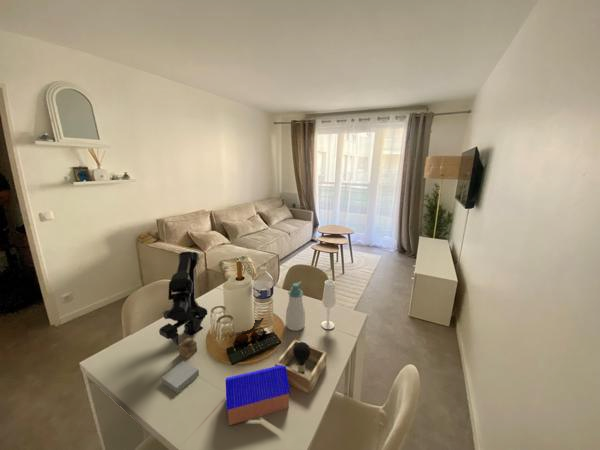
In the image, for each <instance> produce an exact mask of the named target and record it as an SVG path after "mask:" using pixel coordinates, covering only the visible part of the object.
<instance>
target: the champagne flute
mask: <svg viewBox="0 0 600 450" xmlns="http://www.w3.org/2000/svg"><path fill="white" fill-rule="evenodd" d="M335 283H336V282H335V281H334V280H332V279H327V280H325V281H324V286H323V292H322V300H321V303H322V305H323V307H324V308H326V311H327V312H326V320H324V321H322V322H321V327H322V329H326V330H331V329H334V328H335V323H334V322H332V321H331V320H330V309H332V308H334V307H335V305H336V286H335Z"/></svg>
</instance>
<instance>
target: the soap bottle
mask: <svg viewBox="0 0 600 450" xmlns="http://www.w3.org/2000/svg"><path fill="white" fill-rule="evenodd" d="M302 283H303V282H302V281H298V282H295V283H292V287H291V288H290V290H289V291H288V293H287V294H288V304H287V307H286V310H285V325H286V328H288V330H290V331H293V332H294V331H296V332H297V331H300V330H302V329H304V328H305V326H306V325H305V324H306V312H305V307H304V302H303V295H304V291H303V290H302V289H301V287H300V285H301V284H302Z"/></svg>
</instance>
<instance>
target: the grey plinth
mask: <svg viewBox="0 0 600 450" xmlns="http://www.w3.org/2000/svg"><path fill="white" fill-rule="evenodd" d="M199 376H200V373H199V368H196V367H195V366H193V365H192V364H190V363H188V362H186V361H185V360H182V361H181V362H179V363H178V364H176V366H174V367H173V368H171V370H169V371H167V372H166V373H165V374H163V375H162V376H161V381H162V382H161V383H162V384H164V386H166V387H167V388H169V389H170V390H172V391H173V392H174V393H176V395H177V394H178V395H179V393H180V392H182V390H184V389H185V388H186V387H187V386H188V385H190V383H192V382H193V381H194V380H195V379H197V378H198V377H199Z"/></svg>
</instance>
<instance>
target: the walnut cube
mask: <svg viewBox="0 0 600 450" xmlns="http://www.w3.org/2000/svg"><path fill="white" fill-rule="evenodd" d="M177 347H178V353H179V355H180V356H182V357H183V358H185V359H186V360H188V359H189V358H191V357H192V356H193V355H195V354H196V353H197V352H198V344H197V341H196V340H194V339H192V338H191V337H187V338H186V339H185V340H183V341H182V342H180V343H178V346H177Z"/></svg>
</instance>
